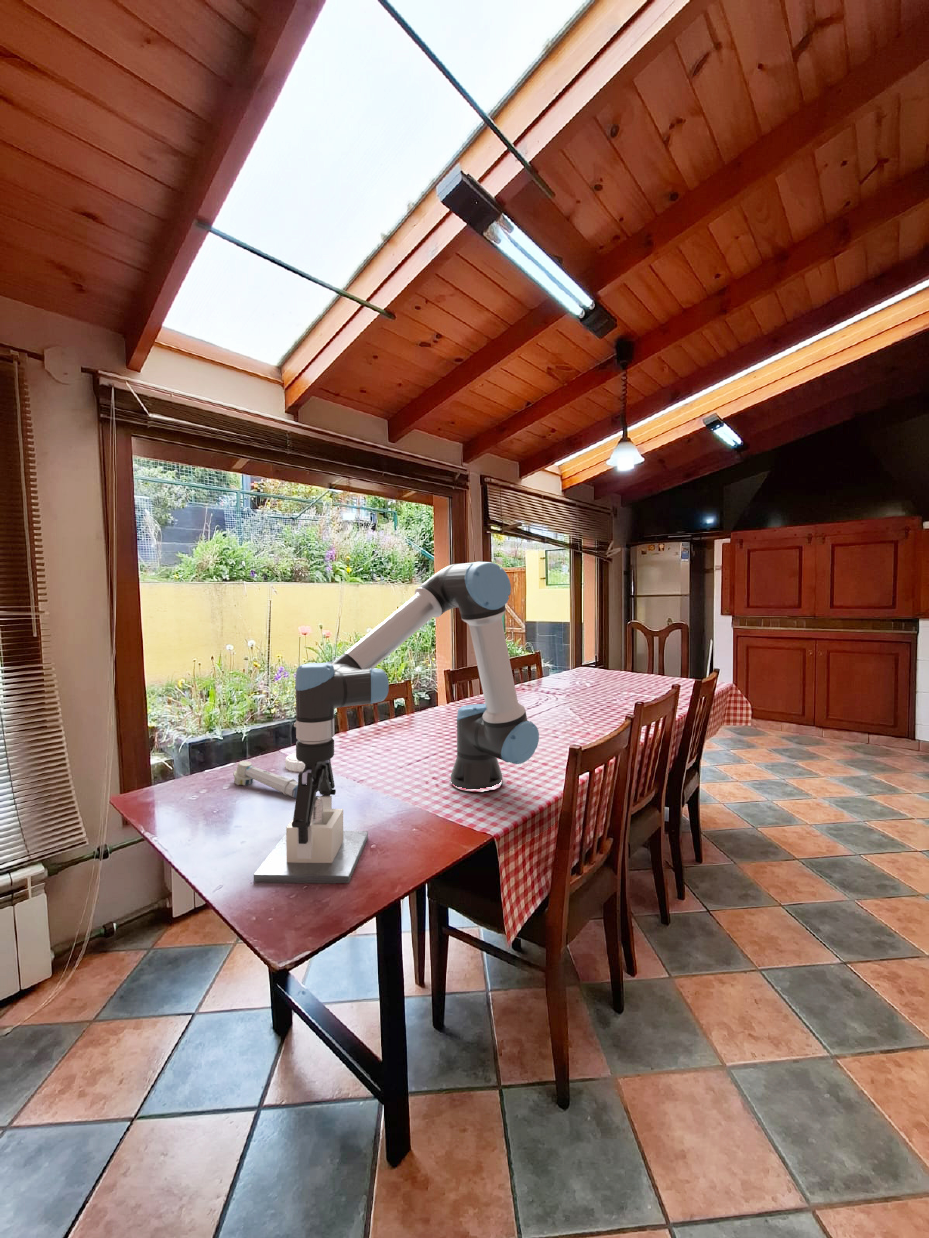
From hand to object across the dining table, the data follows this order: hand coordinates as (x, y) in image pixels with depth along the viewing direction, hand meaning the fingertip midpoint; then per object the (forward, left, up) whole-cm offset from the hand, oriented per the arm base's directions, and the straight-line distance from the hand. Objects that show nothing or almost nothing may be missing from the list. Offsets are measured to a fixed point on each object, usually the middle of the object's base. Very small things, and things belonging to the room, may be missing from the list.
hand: (315, 840), depth 103 cm
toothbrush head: (+25, -37, -4) cm, 45 cm away
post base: (0, 0, -4) cm, 4 cm away
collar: (0, 0, -2) cm, 2 cm away
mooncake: (+21, -57, -4) cm, 61 cm away
